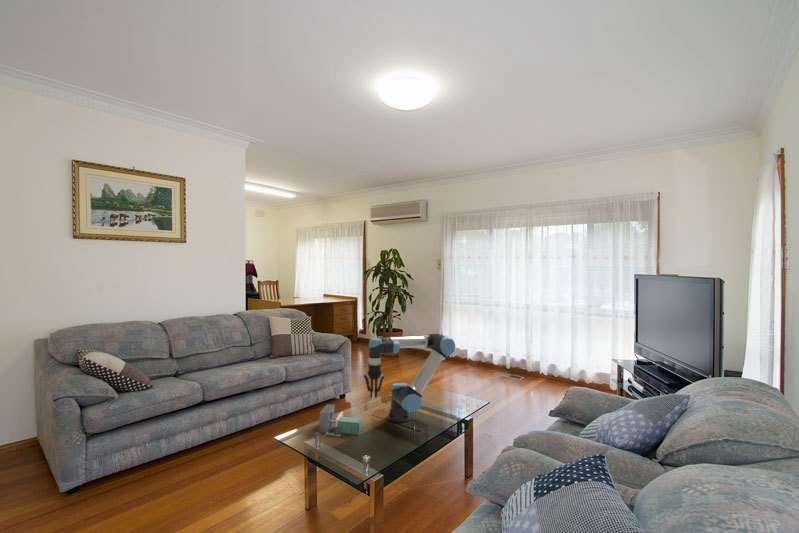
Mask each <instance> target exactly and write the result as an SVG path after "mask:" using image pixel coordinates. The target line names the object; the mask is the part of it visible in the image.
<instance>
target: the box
mask: <svg viewBox="0 0 799 533" xmlns="http://www.w3.org/2000/svg"><path fill="white" fill-rule="evenodd" d="M362 426H363V420H362V418H359V417H358V418H357V417H349V416H348V417H345V416H343V417H341V418H340V419H339V420H338V432H337V433H340V434H347V435H355V436H357V435H358V436H359V434H360V433H361V431H362V428H363V427H362Z"/></svg>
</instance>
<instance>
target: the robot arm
mask: <svg viewBox="0 0 799 533" xmlns="http://www.w3.org/2000/svg"><path fill="white" fill-rule="evenodd" d="M407 348H411V349H412V348H423V349H429V350H430V354H429V355H428V357H427V359H426V360H425V361H424V364H423V365H422V367H421V368H420V370H419V371H418V373H417V374H416V376H415V377H414V379H413V380H412V382H411V384H408V383H407V382H396V383H395V382H394V383H393V384H392V385H391V388H390V407H389V411H388V412H387V419H388V420H389V421H391V422H393V423H399V424H400V423H406V422H408V420H409V419H410V420H411V413H414V412H416V411H418V410H419V409H420V408H421V406H422V398H423V396H424V394H423V392H424V390H425V388H426V387H427V385H428V383H429V382H430V380H431V379H432V377H433V376H434V374H435V372H436V371H437V369H438V368H439V365H440V364H441V362H443V361H445V360H446V359H447V358H448V357H449V356H452V355H453V354H454V353H455V351H456V343H455V341H454V339H453V338H452V337H449V336H447V335H443V334H440V333H428V334H427V333H426V334H422V335H414V336H411V335H410V336H409V335H408V336H390V337H388V336H387V337H384V336H379V335H378V336H377V337H373V338H371V339H369V342H368V370H367V373H366V374H364V375H363V378H364V379H365V384H366V388H367V391H368V392H370V398H371V404H375V403H376V398H378V397H377V396H378V392H380V391H381V389H382V385H383V380H384V379H385V377H386V376H385V375H383V374H382V372H381V370H382V369H381V368H382V367H381V366H382V365H381V363H382V354H383V355H386V354H397V353H399V352H400V349H407ZM369 378H370V381H369ZM379 378H380V380H379ZM378 381H379V385H378ZM410 420H409V421H410Z"/></svg>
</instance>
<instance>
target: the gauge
mask: <svg viewBox="0 0 799 533" xmlns="http://www.w3.org/2000/svg"><path fill="white" fill-rule="evenodd" d="M330 420H335V404H327V403H326V405H325V406H323V409H322V410H320V411H319V420H318V421H319V422H318V423H319V425H318V433H319V432H322V433H321V434H324V435H325V436H329V437H330V436H332V437H341V436H342V433H338V432H337V433H335V434H334V432H329V431H330V430H331V428H332V427H333V426H334V424H335V423H330Z"/></svg>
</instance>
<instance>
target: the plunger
mask: <svg viewBox="0 0 799 533" xmlns="http://www.w3.org/2000/svg"><path fill="white" fill-rule="evenodd" d="M341 417H344V411H341V412H340V413H339V414H338V416H337V417H336V418H335V419H334V420H330V423H334V424H335V427H334V429H333V433H334V434H335V433H338V420H339V419H340V418H341Z"/></svg>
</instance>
